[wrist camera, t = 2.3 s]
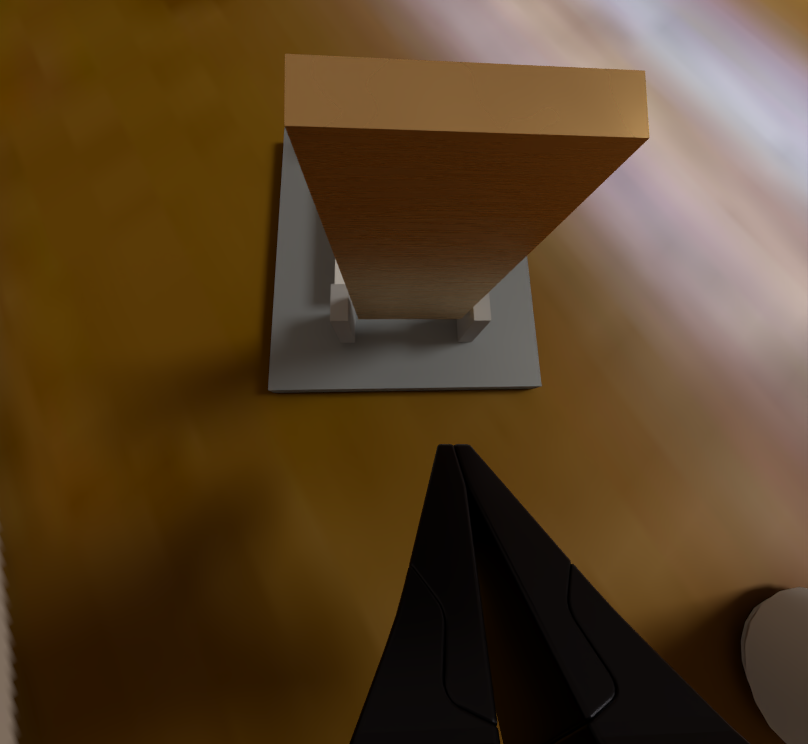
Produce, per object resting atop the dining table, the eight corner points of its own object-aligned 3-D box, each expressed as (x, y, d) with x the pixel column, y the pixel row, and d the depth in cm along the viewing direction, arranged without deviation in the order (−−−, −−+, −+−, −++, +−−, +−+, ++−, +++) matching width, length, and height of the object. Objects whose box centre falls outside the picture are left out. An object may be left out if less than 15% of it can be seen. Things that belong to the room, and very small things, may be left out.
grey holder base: (533, 388, 18) (586, 371, 14) (274, 392, 18) (231, 376, 13) (507, 148, 22) (542, 65, 17) (289, 141, 21) (260, 52, 16)
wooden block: (460, 319, 15) (649, 138, 4) (358, 319, 15) (284, 124, 4) (460, 299, 15) (644, 71, 4) (358, 298, 15) (284, 53, 4)
